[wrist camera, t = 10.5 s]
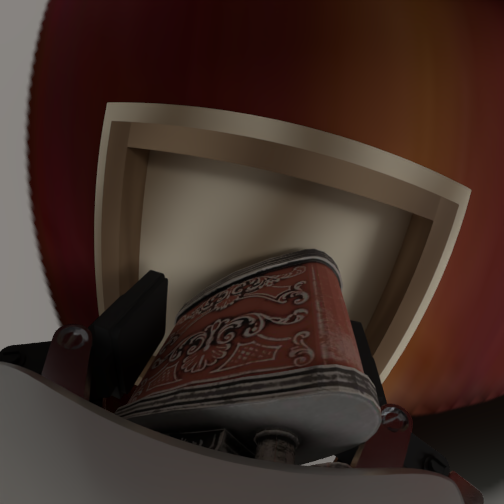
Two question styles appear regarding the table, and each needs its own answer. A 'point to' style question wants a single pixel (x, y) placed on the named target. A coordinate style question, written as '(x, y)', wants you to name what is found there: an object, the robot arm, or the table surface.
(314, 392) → the lighter
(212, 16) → the table surface
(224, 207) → the square beige tray
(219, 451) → the robot arm
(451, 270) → the table surface
